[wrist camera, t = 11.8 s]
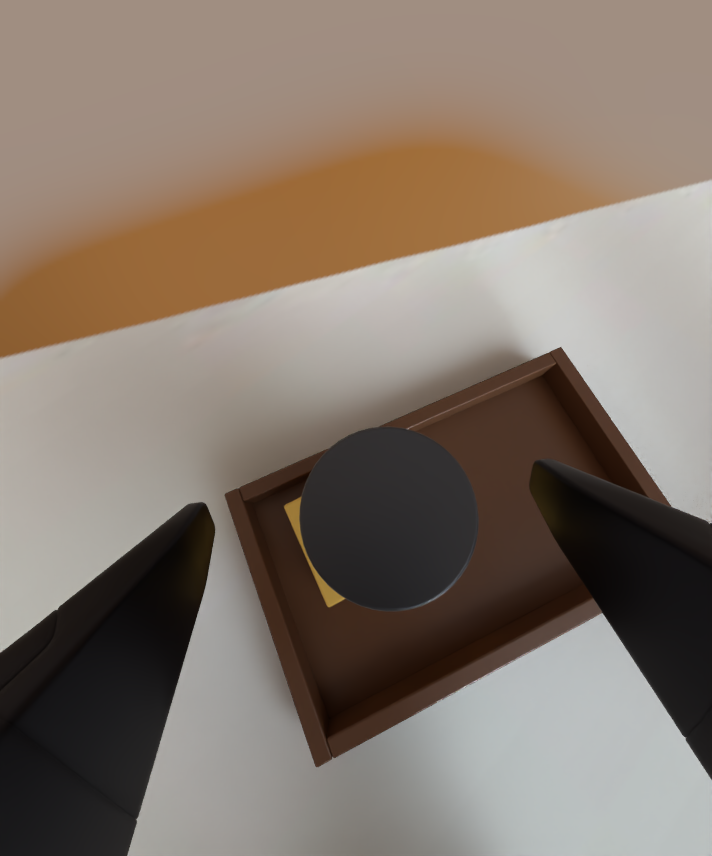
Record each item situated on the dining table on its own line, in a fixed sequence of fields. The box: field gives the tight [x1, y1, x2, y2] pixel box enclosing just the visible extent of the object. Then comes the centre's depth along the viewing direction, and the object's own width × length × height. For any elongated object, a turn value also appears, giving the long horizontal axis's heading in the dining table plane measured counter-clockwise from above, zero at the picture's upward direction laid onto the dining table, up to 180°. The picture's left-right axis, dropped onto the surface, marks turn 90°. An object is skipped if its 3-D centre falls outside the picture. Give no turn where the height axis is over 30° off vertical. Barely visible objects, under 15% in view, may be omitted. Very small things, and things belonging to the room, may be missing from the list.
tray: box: [225, 347, 671, 767], centre depth 16 cm, size 18×11×2 cm, turn 114°
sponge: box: [284, 427, 479, 611], centre depth 11 cm, size 6×4×12 cm
